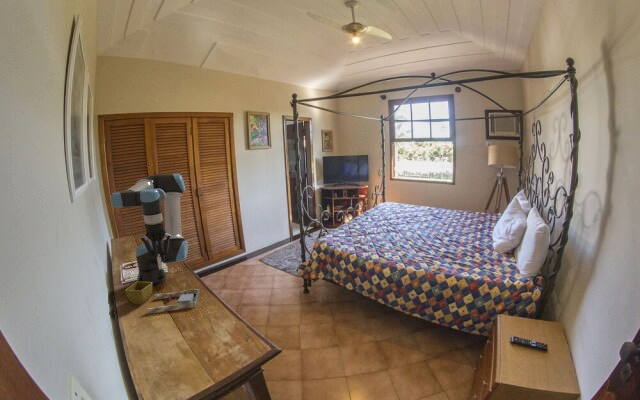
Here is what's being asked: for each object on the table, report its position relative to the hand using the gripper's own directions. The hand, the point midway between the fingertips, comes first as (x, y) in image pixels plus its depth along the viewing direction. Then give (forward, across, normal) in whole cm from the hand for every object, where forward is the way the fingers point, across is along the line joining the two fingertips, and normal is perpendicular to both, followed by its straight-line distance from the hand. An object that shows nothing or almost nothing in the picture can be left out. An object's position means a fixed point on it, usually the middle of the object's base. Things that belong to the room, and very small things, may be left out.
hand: (161, 267), depth 140 cm
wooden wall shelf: (+20, +3, 0) cm, 21 cm away
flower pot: (+21, -14, +6) cm, 26 cm away
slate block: (+21, +10, -2) cm, 23 cm away
